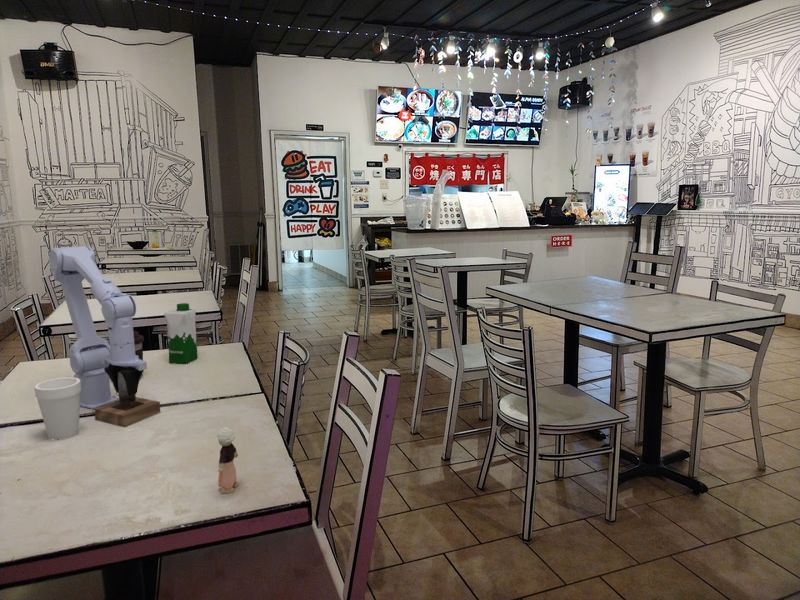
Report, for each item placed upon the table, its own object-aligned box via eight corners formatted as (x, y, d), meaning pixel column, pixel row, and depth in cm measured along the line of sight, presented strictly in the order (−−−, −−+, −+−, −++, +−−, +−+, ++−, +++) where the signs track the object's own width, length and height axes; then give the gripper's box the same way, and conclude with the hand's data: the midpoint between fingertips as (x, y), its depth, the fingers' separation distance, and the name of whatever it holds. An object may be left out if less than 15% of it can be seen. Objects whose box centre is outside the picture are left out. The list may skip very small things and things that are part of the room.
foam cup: (94, 429, 141) (89, 379, 139) (61, 445, 132) (55, 391, 130) (65, 425, 144) (60, 375, 142) (31, 439, 135) (25, 387, 133)
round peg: (115, 401, 148) (113, 371, 147) (128, 397, 152) (126, 368, 150) (126, 403, 146) (124, 373, 145) (139, 399, 150) (137, 369, 149)
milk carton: (201, 358, 204) (197, 303, 200) (188, 365, 195) (184, 308, 191) (178, 357, 205) (175, 302, 202) (164, 364, 196) (160, 307, 193)
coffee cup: (153, 377, 182) (149, 331, 179) (124, 385, 174) (120, 338, 171) (135, 372, 187) (131, 327, 185) (106, 380, 179) (101, 334, 176)
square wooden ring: (95, 419, 147) (94, 408, 147) (131, 406, 157) (130, 395, 156) (125, 427, 143) (124, 415, 142) (160, 412, 152) (159, 401, 152)
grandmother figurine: (222, 480, 116) (219, 421, 114) (241, 479, 116) (238, 420, 114) (213, 499, 108) (209, 437, 106) (234, 498, 109) (230, 436, 106)
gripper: (154, 342, 147) (158, 392, 149) (116, 336, 153) (120, 384, 155) (131, 348, 140) (136, 400, 143) (92, 342, 147) (97, 392, 149)
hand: (126, 393), depth 149 cm, fingers closed on round peg, 4 cm apart
